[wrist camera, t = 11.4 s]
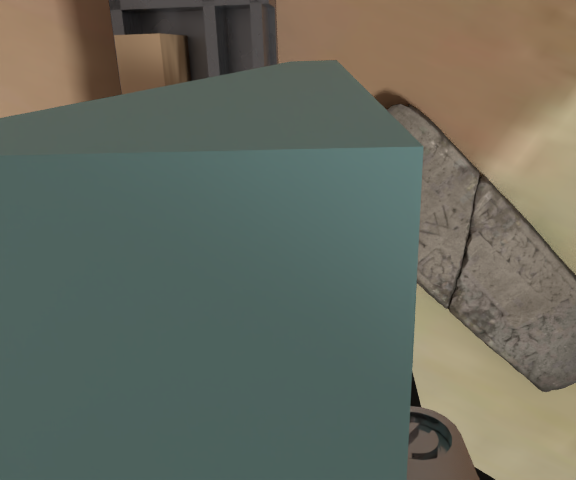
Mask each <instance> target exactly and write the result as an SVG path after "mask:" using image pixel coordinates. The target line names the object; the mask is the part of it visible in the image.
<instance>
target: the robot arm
mask: <svg viewBox="0 0 576 480" xmlns="http://www.w3.org/2000/svg"><path fill="white" fill-rule="evenodd" d="M407 480H495V479H493V478H492V477H490V476H489V475H487V474H485V473H484V472H482V471H480V470H479V469H477V468H475V467H474V465H473V463H472V460H471V458H470V455H469V453H468V450H467V448H466V446H465V443H464V441H463V438H462V436H461V434H460V432H459V431H458V429H457V427H456V426H455V424H453V423H452V422H451V421H450V420H449V419H447V418H446V417H445V416H443V415H441V414H439V413H437V412H435V411H433V410H429V409H425V408H422V407H421V405H420V401H419V397H418V393H417V389H416V385H415V381H414V377H413V373H412V383H411V403H410V422H409V442H408V461H407Z"/></svg>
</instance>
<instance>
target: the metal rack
mask: <svg viewBox="0 0 576 480" xmlns="http://www.w3.org/2000/svg"><path fill="white" fill-rule="evenodd" d="M109 6H110V13H111V21H112V28H113V35H132V34H157V33H160V34H173V35H186V36H187V39H188V50H189V60H190V71H191V81H194V80H199V79H204V78H209V77H214V76H220V75H225V74H230V73H235V72H240V71H245V70H250V69H255V68H261V67H266V66H271V65H276V64H278V46H277V20H276V0H109ZM114 42H115V40H114ZM115 50H116V47H115ZM116 57H117V54H116ZM117 64H118V62H117ZM118 71H119V69H118ZM119 79H120V76H119ZM120 86H121V84H120ZM121 93H122V91H121Z"/></svg>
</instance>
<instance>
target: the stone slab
mask: <svg viewBox="0 0 576 480" xmlns="http://www.w3.org/2000/svg"><path fill="white" fill-rule="evenodd" d="M387 111H388V112H389V113H390V114H391V115H392V116H393V117H394V118H395V119H396V120H397V121H398V122H399V123H400V124H401V125H402V126H403V127H404V128H405V129H406V130H407V131H408V132H409V133H410V134H411V135H412V136H413V137H414V138H415V139H416V140H417V141H418V142H419V143H420V144H422V145H423V146H424V147H423V167H422V187H421V206H420V226H419V246H418V265H417V283H418V284H419V285H420V286H421V287H422V288H423V289H424V290H425V291H426V292H427V293H428V294H429V295H431V296H432V297H433V298H435V300H436V301H437V302H438V303H440V304H441V305H443V306H444V308H446V309H448V308H449V310H450V312H451V313H452V314H453V315H454V316H455V317H456V318H457V319H459V320H460V321H461V322H462V323H463V324H464V325H465V326H466V327H467V328H469V329H470V330H471V331H472V332H473V333H474V334H475V335H476V336H477V337H478V338H480V339H481V340H482V341H483V342H484V343H485V344H486V345H487V346H489V347H490V348H491V349H492V350H493V351H494V352H496V353H497V354H499V355H500V356H501V357H502V358H504V359H505V360H506V361H507V362H508V363H509V364H510V365H512V366H513V367H514V368H515V369H516V370H517V371H518V372H520V373H521V374H523V375H524V376H525V377H526V378H527V379H528V380H530V381H531V382H532V383H533V384H534V385H535V386H536V387H537V388H538V389H540V390H541V391H543V392H549V391H551V390H558V389H562V388H565V387H567V386H569V385H572V384H574V383H576V275H575V274H574V273H573V272H572V271H571V270H570V269H569V268H568V267H567V265H565V263H564V262H563V261H562V260H561V259H560V258H559V257H558V255H557V254H556V253H555V252H554V251H553V250H552V249H551V247H550V246H549V245H548V244H547V242H546V241H545V240H544V239H543V238H542V236H540V235H539V234H538V232H537V231H536V230H535V229H534V227H533V226H532V225H531V224H530V223H529V222H528V221H527V220H526V219H525V218H524V217H523V216H522V214H521V213H520V212H519V211H518V210H517V209H516V208H515V207H514V206H513V205H512V204H511V203H510V202H509V201H508V200H507V199H506V198H505V197H504V196H503V195H502V194H501V193H500V192H499V191H498V190H497V189H496V188H495V186H494V185H493V184H492V183H491V182H490V181H489V180H488V179H487V177H484V176H483V177H480V178H479V175H480V173H479V171H478V170H477V168H475V167H474V166H473V165H472V163H471V162H470V161H469V160H468V159H467V158H466V157H465V156H464V155H463V154H462V153H461V151H460V150H459V149H458V148H457V147H456V146H455V145H453V144H452V142H451V141H450V140H449V139H448V138H447V137H446V136H445V135H444V134H443V132H442V131H441V130H440V129H439V128H438V127H437V126H436V125H435V124H434V123H433V122H432V121H431V120H430V119H429V118H428V117H426V116H425V115H424V114H422V113H421V112H420V111H419V110H418V109H416V108H414V107H413V106H411V105H410V104H409V107H406V106H404V105H402V104H398V105H393V106H391V107H390V108H389V109H388V110H387Z"/></svg>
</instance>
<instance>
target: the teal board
mask: <svg viewBox="0 0 576 480" xmlns="http://www.w3.org/2000/svg"><path fill="white" fill-rule="evenodd" d="M423 147H424V146H423V145H422V144H420V143H419V142H418V141H417V140H416V139H415V138H414V137H413V136H412V135H411V134H410V133H409V132H408V131H407V130H406V129H405V128H404V127H403V126H402V125H401V124H400V123H399V122H398V121H397V120H396V119H395V118H394V117H393V116H392V115H391V114H390V113H389V112H388V111H387V110H386V109H385V108H384V107H383V106H382V105H381V104H380V103H379V102H378V101H377V100H376V99H375V98H374V97H373V96H372V95H371V94H370V93H369V92H368V91H367V90H366V89H365V88H364V87H363V86H362V85H361V84H360V83H359V82H358V81H357V80H356V79H355V78H354V77H353V76H352V75H351V74H350V73H349V72H348V71H347V70H346V69H345V68H344V67H343V66H342V65H341V64H340V63H339V62H338V61H337V60H326V61H297V62H286V63H281V64H276V65H271V66H266V67H261V68H255V69H250V70H245V71H240V72H235V73H230V74H225V75H220V76H214V77H209V78H204V79H199V80H194V81H189V82H184V83H179V84H173V85H168V86H163V87H158V88H153V89H148V90H143V91H138V92H132V93H127V94H122V95H117V96H112V97H107V98H102V99H96V100H91V101H86V102H81V103H76V104H71V105H66V106H61V107H55V108H50V109H45V110H40V111H35V112H30V113H25V114H20V115H14V116H9V117H4V118H0V480H407V461H408V442H409V422H410V403H411V383H412V363H413V344H414V324H415V304H416V285H417V265H418V246H419V226H420V206H421V187H422V167H423Z"/></svg>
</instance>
